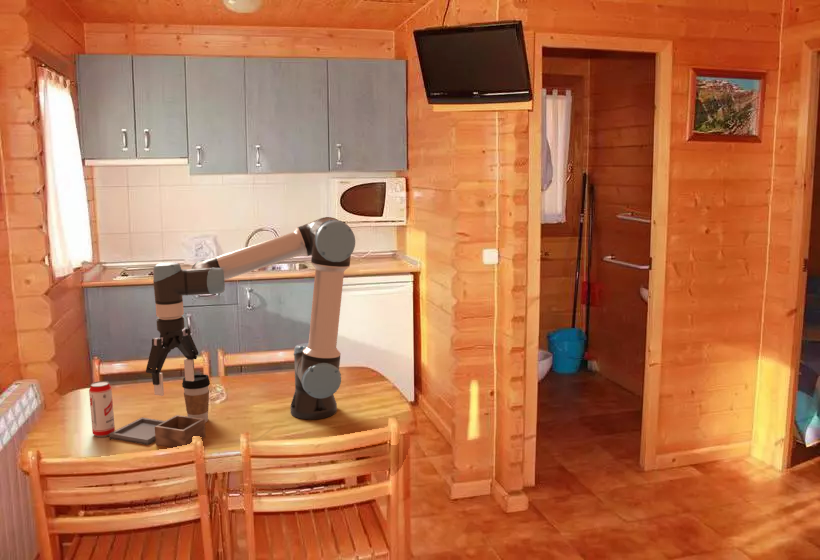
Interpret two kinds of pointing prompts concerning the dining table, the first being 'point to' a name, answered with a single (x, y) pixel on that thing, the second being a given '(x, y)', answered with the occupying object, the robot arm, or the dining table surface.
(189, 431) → the walnut crate
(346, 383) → the dining table surface
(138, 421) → the slate tray
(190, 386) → the coffee cup
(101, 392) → the beer can
